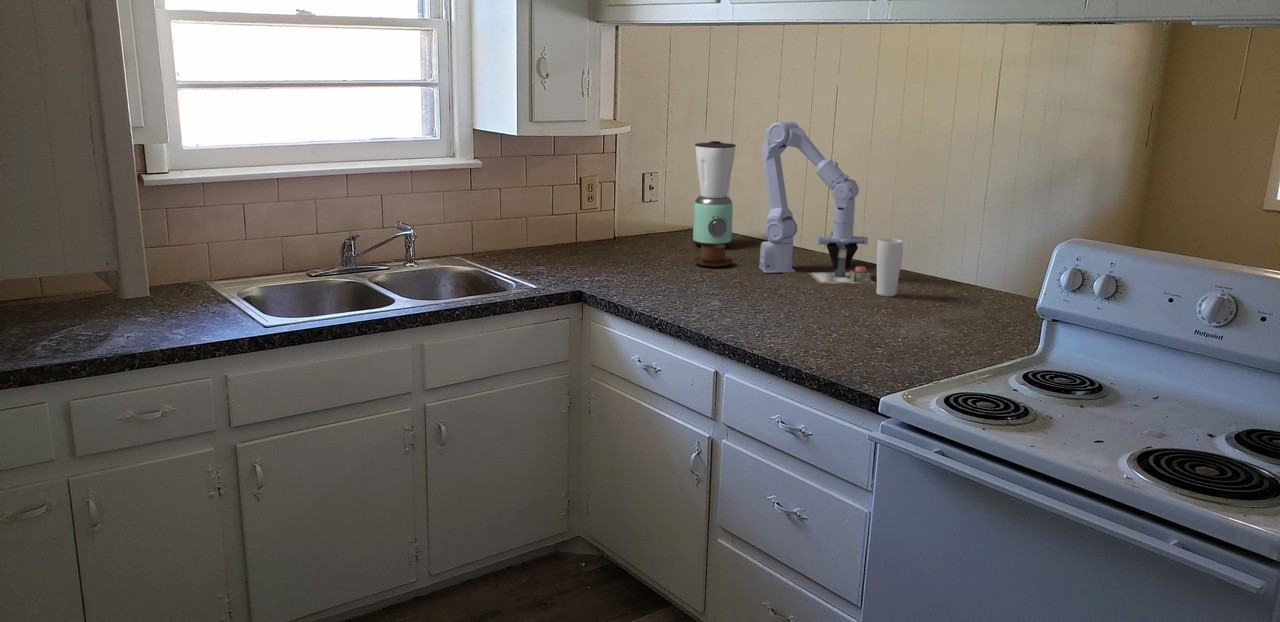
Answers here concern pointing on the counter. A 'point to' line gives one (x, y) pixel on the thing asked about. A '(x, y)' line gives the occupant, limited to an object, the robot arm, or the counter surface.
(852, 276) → the control panel
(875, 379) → the counter surface
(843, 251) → the cylinder
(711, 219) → the mint green blender
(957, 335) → the counter surface
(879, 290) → the drinking glass
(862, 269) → the button
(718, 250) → the cup and saucer
